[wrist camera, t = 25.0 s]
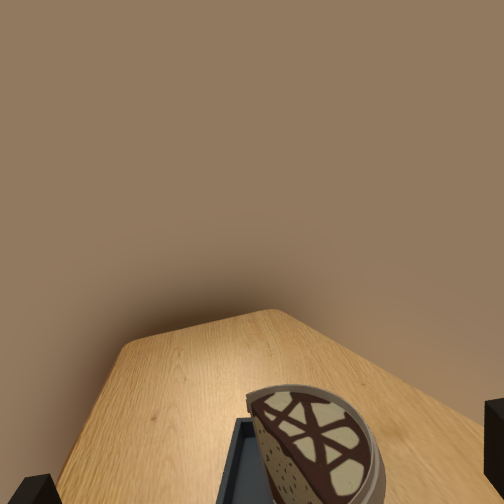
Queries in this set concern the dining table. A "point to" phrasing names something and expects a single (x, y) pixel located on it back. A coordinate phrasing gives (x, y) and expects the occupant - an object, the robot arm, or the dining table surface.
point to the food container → (315, 447)
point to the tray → (244, 469)
